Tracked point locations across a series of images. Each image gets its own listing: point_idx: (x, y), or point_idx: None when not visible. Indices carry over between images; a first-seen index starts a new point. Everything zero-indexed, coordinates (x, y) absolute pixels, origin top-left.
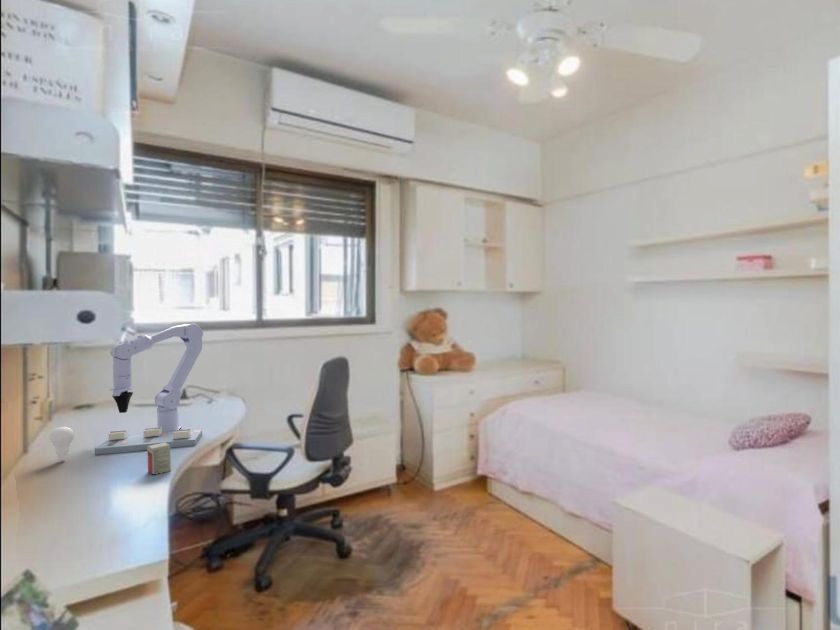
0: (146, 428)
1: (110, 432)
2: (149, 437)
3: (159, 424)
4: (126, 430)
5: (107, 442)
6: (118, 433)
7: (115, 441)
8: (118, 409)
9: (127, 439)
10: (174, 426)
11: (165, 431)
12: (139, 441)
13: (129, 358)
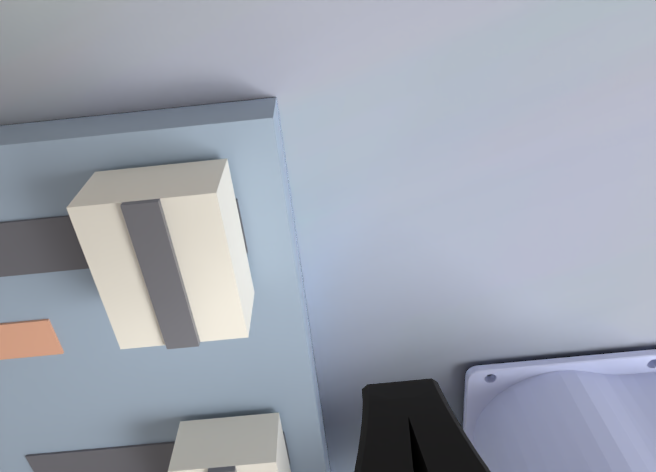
0: (263, 464)
1: (123, 208)
2: None
3: (517, 456)
4: (187, 346)
5: (33, 183)
6: (103, 296)
7: (62, 250)
8: (364, 433)
9: None
10: None
11: (476, 438)
12: (62, 425)
13: None
